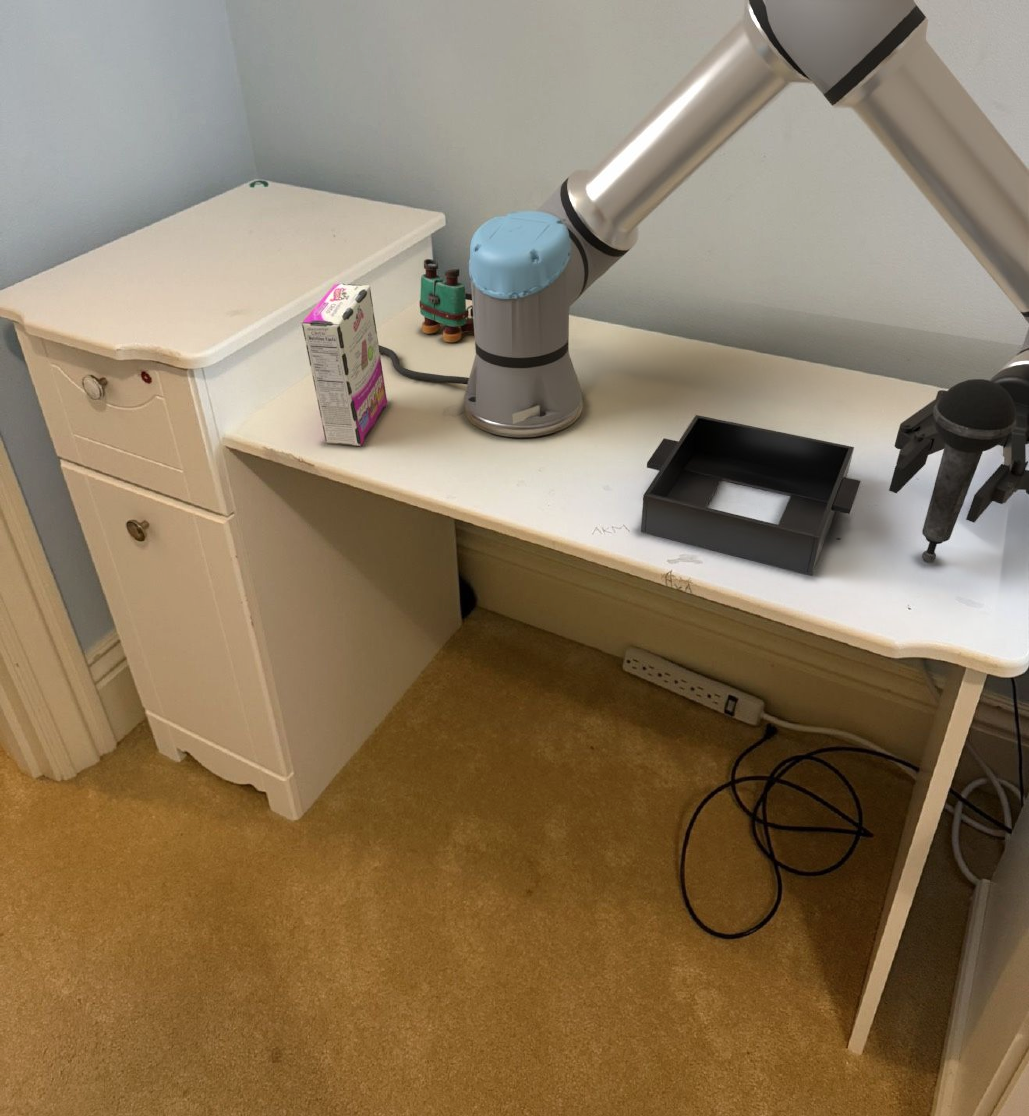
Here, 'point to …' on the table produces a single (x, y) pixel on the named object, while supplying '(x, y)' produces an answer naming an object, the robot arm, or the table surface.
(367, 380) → the candy bar box
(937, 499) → the microphone
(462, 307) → the binoculars
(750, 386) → the table surface
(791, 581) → the table surface
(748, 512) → the table surface
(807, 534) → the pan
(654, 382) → the table surface
